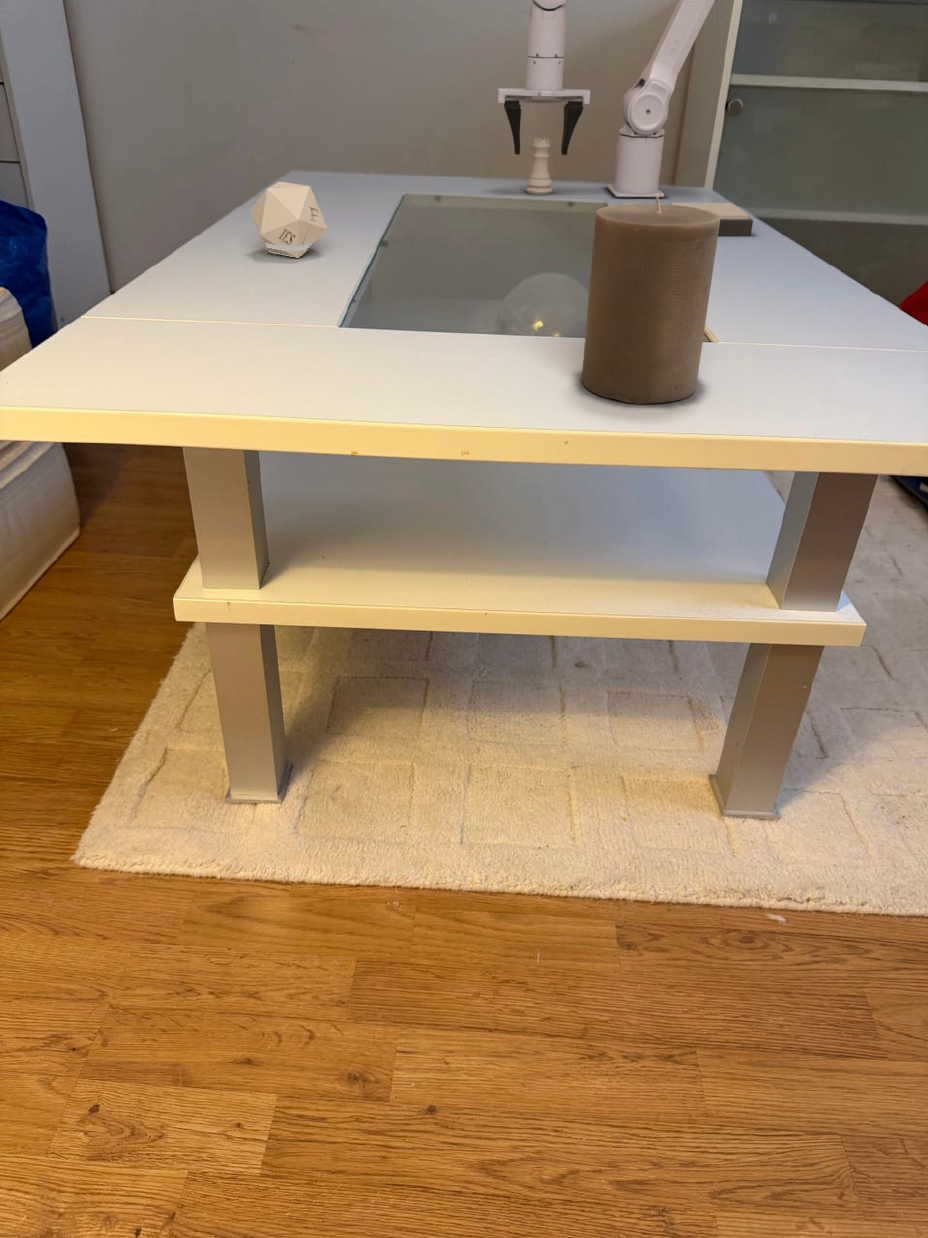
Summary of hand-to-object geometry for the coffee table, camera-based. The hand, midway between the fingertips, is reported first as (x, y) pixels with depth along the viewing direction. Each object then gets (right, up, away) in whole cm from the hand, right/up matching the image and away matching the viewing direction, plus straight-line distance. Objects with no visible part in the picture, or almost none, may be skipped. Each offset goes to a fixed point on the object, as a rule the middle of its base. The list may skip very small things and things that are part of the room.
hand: (540, 153), depth 155 cm
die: (-34, -30, -35) cm, 57 cm away
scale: (+22, -20, -19) cm, 36 cm away
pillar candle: (+3, -56, -73) cm, 92 cm away
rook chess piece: (0, -5, +3) cm, 6 cm away
